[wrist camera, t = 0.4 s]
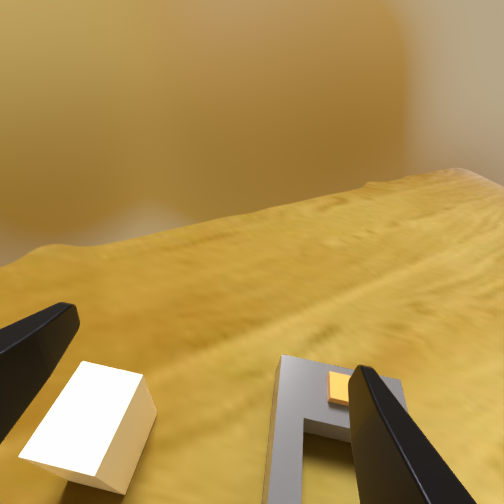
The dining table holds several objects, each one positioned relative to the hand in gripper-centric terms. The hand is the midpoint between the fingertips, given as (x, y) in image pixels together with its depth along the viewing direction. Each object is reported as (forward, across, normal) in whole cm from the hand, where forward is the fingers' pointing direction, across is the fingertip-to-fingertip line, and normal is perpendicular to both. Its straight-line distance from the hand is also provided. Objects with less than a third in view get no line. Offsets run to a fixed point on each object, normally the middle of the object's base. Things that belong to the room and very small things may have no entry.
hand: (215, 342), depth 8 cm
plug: (+3, +6, +17) cm, 18 cm away
